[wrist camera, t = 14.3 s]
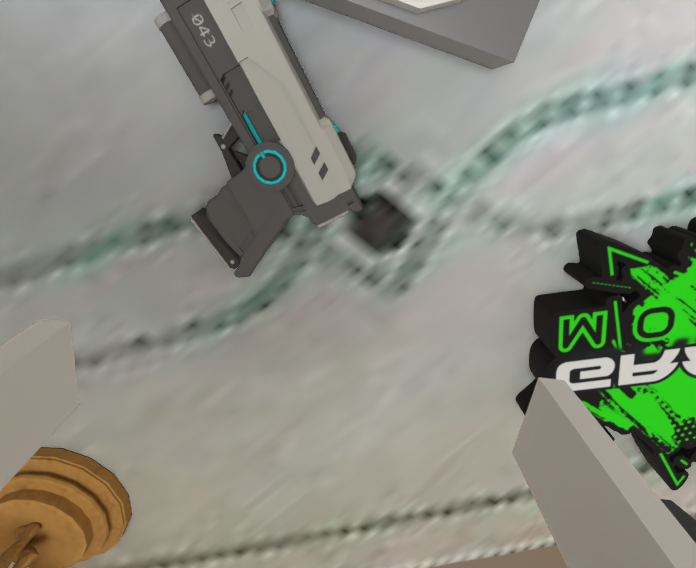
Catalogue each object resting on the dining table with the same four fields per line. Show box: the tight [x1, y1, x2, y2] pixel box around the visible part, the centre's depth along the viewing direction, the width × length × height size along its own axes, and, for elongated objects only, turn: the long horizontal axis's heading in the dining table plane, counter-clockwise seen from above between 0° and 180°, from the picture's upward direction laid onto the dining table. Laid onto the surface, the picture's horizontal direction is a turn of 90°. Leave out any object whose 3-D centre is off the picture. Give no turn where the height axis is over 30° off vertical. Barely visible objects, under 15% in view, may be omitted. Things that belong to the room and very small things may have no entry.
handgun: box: [155, 0, 363, 277], centre depth 35 cm, size 4×22×15 cm
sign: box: [516, 217, 696, 490], centre depth 43 cm, size 33×4×30 cm
